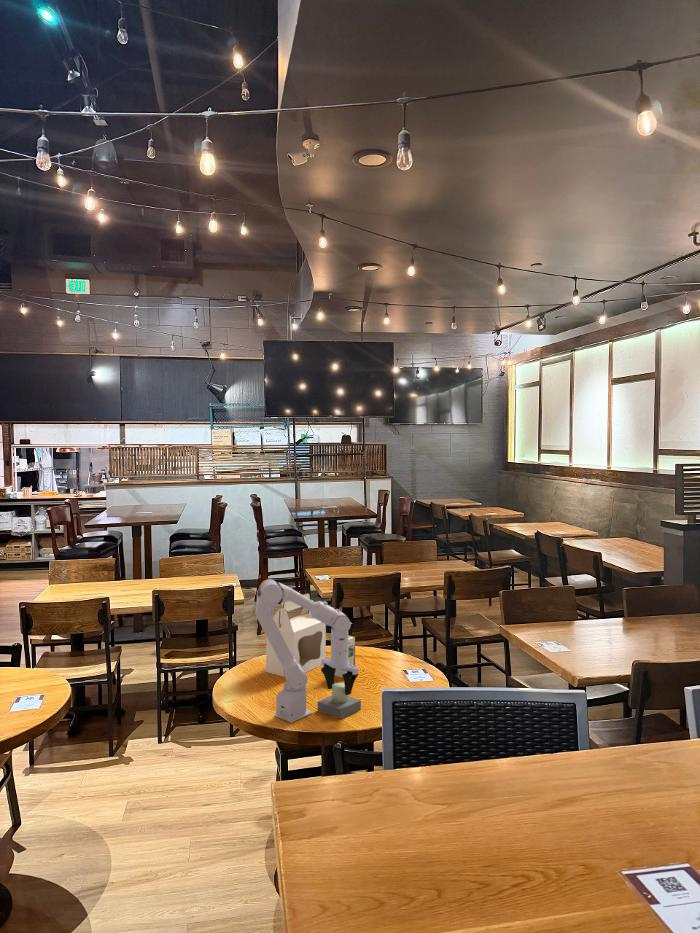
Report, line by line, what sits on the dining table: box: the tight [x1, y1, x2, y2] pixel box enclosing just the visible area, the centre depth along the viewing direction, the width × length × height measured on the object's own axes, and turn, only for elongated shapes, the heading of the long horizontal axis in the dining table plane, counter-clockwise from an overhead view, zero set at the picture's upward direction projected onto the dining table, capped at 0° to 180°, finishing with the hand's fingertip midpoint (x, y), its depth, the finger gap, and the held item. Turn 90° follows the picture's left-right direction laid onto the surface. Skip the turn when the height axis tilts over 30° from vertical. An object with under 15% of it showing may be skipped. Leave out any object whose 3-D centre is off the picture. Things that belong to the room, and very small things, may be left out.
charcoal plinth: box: [317, 695, 362, 720], centre depth 201 cm, size 10×10×3 cm
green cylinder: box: [331, 682, 348, 704], centre depth 201 cm, size 5×5×5 cm
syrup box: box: [334, 635, 356, 679], centre depth 234 cm, size 6×6×14 cm
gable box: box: [265, 593, 327, 678], centre depth 242 cm, size 22×13×28 cm, turn 148°
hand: (339, 691), depth 201 cm, fingers open, 7 cm apart
